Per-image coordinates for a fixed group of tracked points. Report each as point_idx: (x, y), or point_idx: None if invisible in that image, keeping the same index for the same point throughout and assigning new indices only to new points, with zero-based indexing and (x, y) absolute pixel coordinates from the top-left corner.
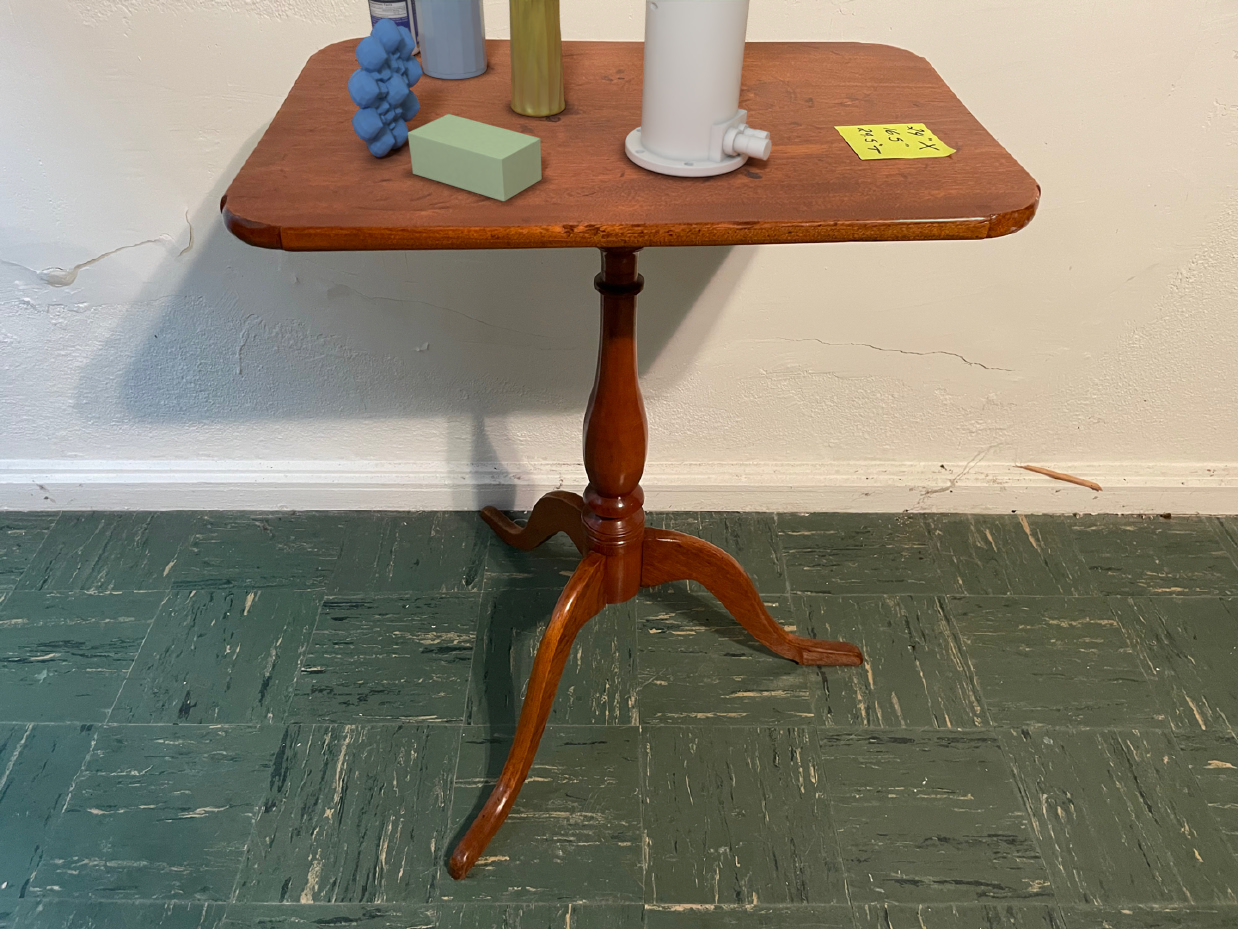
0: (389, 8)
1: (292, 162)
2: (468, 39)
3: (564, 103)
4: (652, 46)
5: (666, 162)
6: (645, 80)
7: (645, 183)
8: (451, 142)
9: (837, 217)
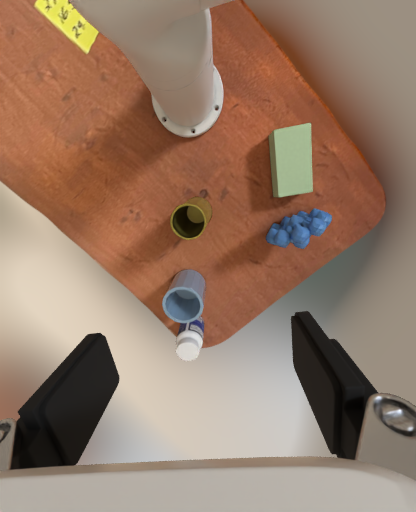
0: (198, 330)
1: (328, 243)
2: (189, 277)
3: (189, 199)
4: (211, 75)
5: (219, 82)
6: (208, 96)
7: (235, 86)
8: (309, 162)
9: None
